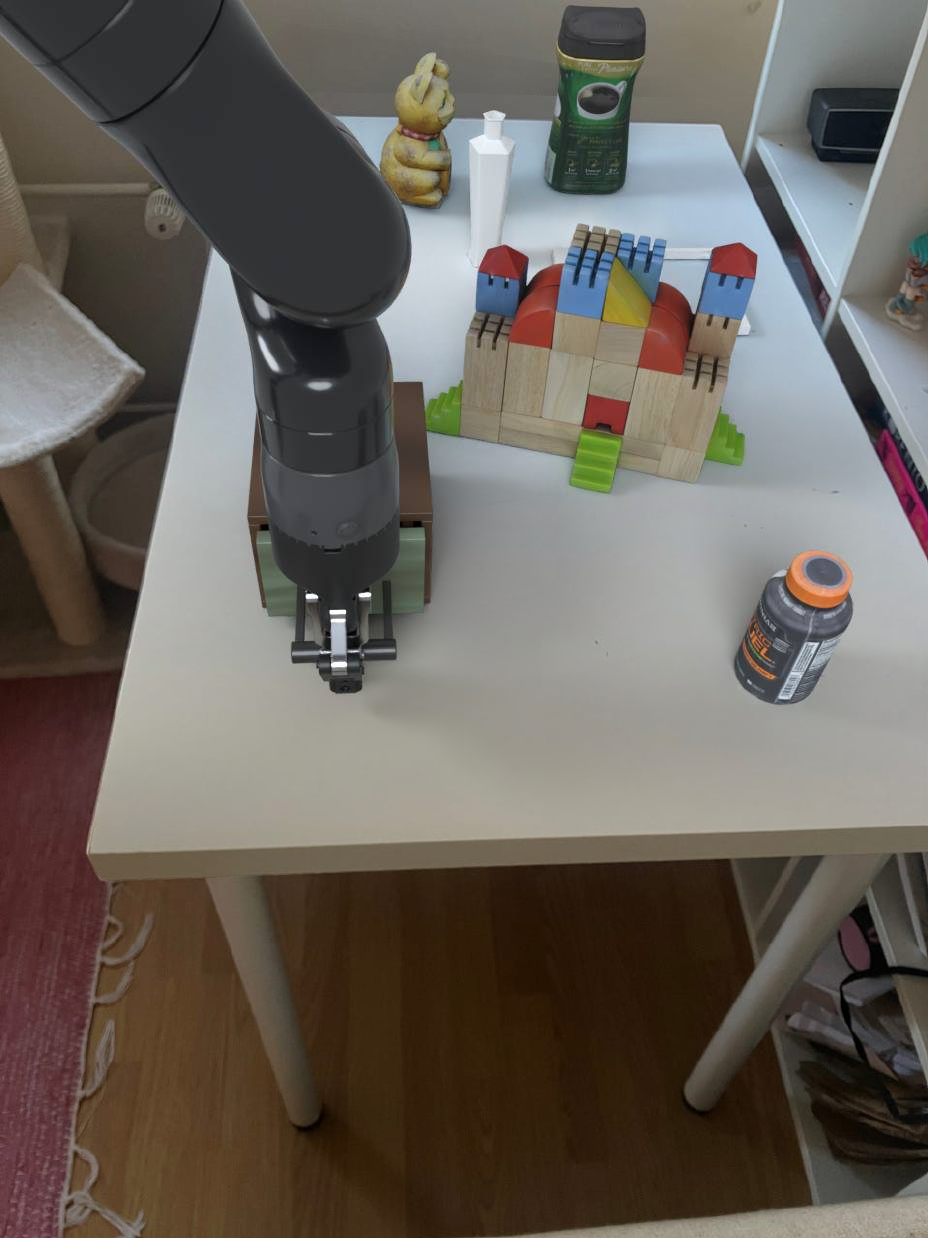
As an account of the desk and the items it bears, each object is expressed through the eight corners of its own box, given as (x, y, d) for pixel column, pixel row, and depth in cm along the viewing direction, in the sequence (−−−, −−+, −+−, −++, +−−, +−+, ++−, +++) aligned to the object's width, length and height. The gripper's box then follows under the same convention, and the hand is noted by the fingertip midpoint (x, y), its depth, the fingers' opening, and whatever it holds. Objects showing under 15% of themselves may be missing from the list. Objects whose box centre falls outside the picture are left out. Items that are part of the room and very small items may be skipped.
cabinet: (430, 603, 76) (433, 513, 69) (262, 608, 75) (246, 516, 68) (421, 473, 85) (422, 380, 78) (271, 475, 84) (258, 382, 77)
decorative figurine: (451, 220, 112) (456, 79, 101) (377, 216, 112) (374, 74, 100) (452, 177, 118) (457, 40, 107) (382, 174, 118) (380, 36, 106)
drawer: (428, 686, 70) (430, 615, 64) (263, 692, 69) (250, 620, 63) (415, 487, 83) (416, 412, 77) (276, 490, 82) (265, 414, 76)
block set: (409, 454, 87) (410, 250, 72) (449, 360, 96) (458, 160, 81) (735, 520, 84) (807, 319, 69) (745, 415, 92) (811, 218, 78)
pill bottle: (719, 649, 75) (761, 543, 66) (792, 636, 76) (842, 531, 67) (753, 714, 71) (801, 611, 62) (828, 700, 72) (887, 597, 63)
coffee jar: (619, 166, 122) (647, -4, 108) (627, 198, 117) (658, 25, 103) (539, 163, 122) (557, -8, 107) (544, 196, 117) (564, 21, 102)
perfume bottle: (513, 266, 107) (526, 122, 95) (475, 272, 106) (483, 128, 94) (498, 244, 109) (509, 102, 98) (460, 250, 108) (466, 106, 97)
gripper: (270, 415, 60) (294, 602, 74) (258, 586, 52) (288, 763, 65) (395, 413, 61) (397, 599, 74) (403, 582, 52) (404, 758, 66)
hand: (346, 675), depth 70 cm, fingers closed
